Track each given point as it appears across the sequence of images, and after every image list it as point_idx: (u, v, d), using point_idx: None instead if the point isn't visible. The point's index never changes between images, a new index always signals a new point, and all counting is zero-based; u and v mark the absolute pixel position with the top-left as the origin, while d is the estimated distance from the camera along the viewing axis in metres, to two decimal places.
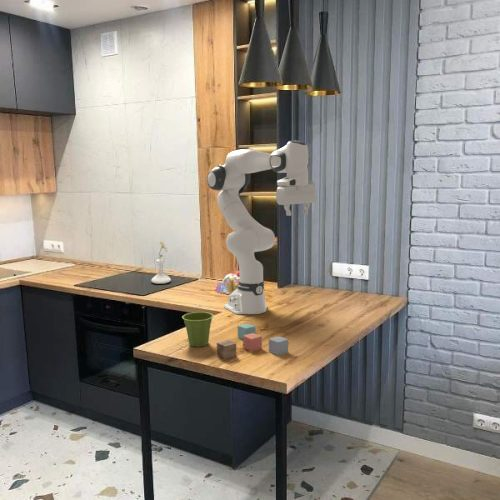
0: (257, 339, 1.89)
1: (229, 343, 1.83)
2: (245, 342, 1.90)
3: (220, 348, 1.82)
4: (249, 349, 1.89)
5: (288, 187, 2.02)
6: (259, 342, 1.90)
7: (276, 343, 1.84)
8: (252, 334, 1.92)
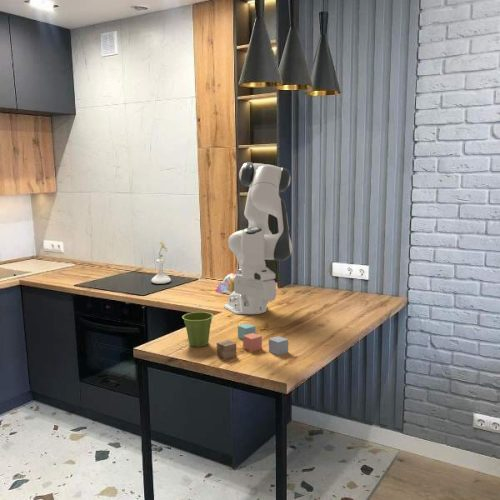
0: (257, 339, 1.89)
1: (229, 343, 1.83)
2: (245, 342, 1.90)
3: (220, 348, 1.82)
4: (249, 349, 1.89)
5: None
6: (259, 342, 1.90)
7: (275, 343, 1.84)
8: (252, 334, 1.92)
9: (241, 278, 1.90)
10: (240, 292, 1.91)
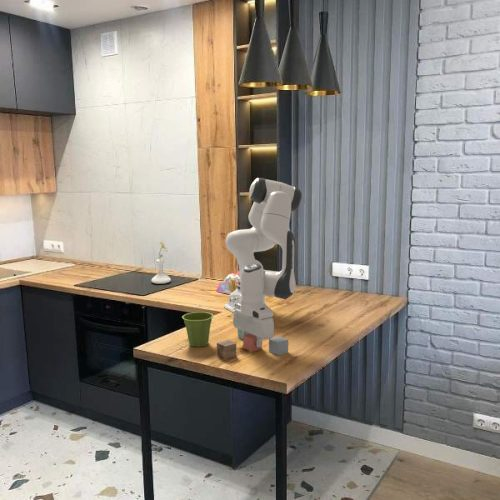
0: None
1: (229, 343, 1.83)
2: (245, 342, 1.90)
3: (220, 348, 1.82)
4: (249, 349, 1.89)
5: None
6: None
7: (275, 343, 1.84)
8: None
9: (240, 313, 1.92)
10: (239, 327, 1.93)
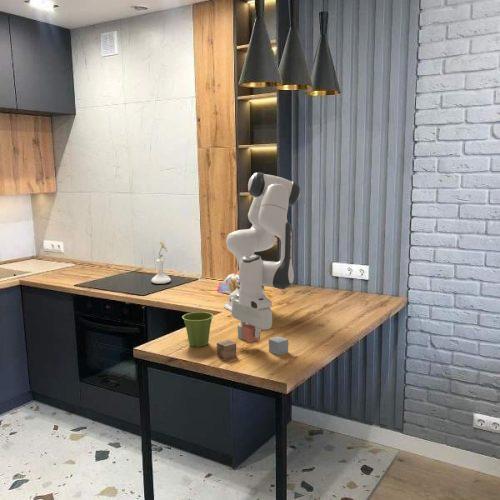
0: (255, 329, 1.89)
1: (229, 343, 1.83)
2: (243, 332, 1.90)
3: (220, 348, 1.82)
4: (247, 339, 1.88)
5: None
6: None
7: (275, 343, 1.84)
8: None
9: (238, 304, 1.92)
10: (237, 317, 1.93)
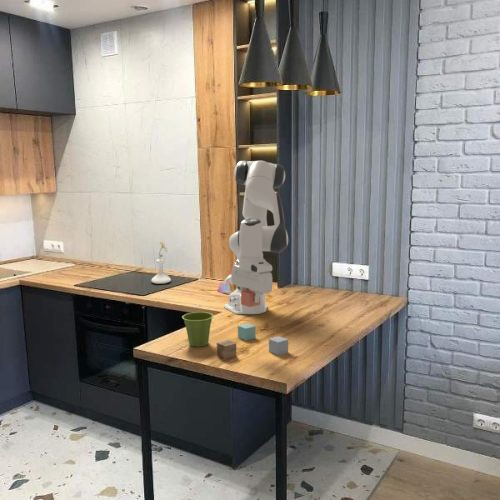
0: (255, 294, 1.86)
1: (229, 343, 1.83)
2: (243, 297, 1.88)
3: (220, 348, 1.82)
4: (247, 304, 1.86)
5: None
6: None
7: (275, 343, 1.84)
8: (250, 290, 1.90)
9: (238, 269, 1.89)
10: (237, 283, 1.91)
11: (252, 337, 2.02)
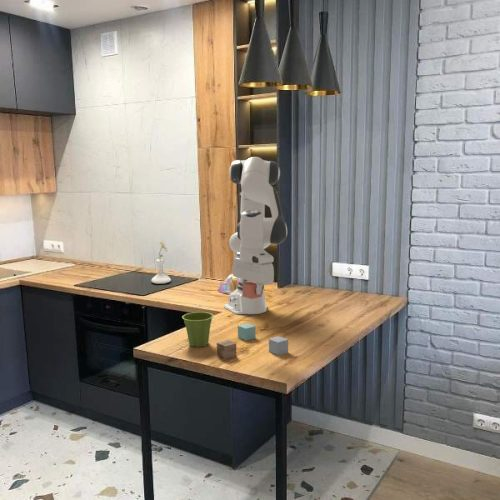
0: None
1: (229, 343, 1.83)
2: (244, 289, 1.87)
3: (220, 348, 1.82)
4: (249, 296, 1.85)
5: None
6: None
7: (275, 343, 1.84)
8: (251, 282, 1.89)
9: (239, 261, 1.89)
10: (238, 275, 1.90)
11: (252, 337, 2.02)
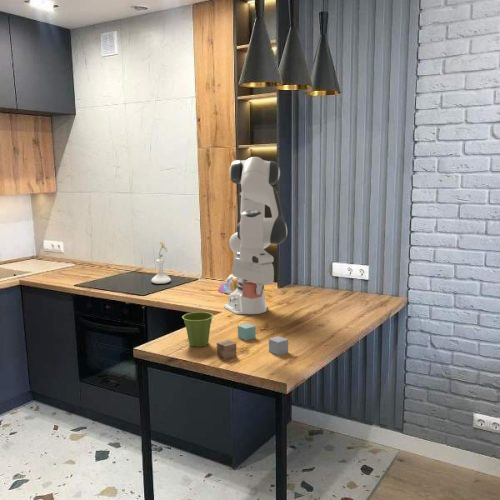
0: None
1: (229, 343, 1.83)
2: (244, 289, 1.87)
3: (220, 348, 1.82)
4: (249, 296, 1.85)
5: None
6: None
7: (275, 343, 1.84)
8: (251, 282, 1.89)
9: (239, 261, 1.89)
10: (238, 275, 1.90)
11: (252, 337, 2.02)
